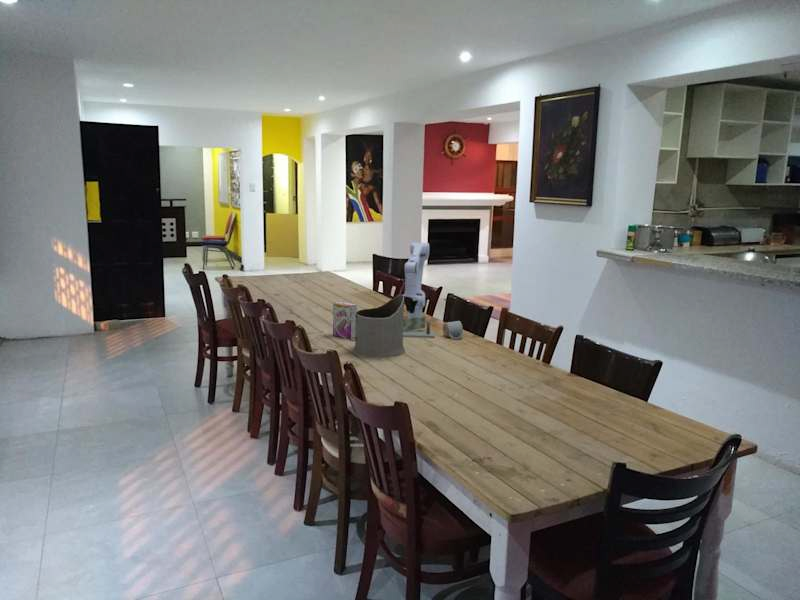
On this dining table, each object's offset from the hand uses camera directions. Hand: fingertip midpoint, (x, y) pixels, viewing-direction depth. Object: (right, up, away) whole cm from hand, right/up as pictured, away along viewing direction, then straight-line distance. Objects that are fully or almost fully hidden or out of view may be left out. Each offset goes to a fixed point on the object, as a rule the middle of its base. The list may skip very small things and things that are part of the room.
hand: (410, 312), depth 311 cm
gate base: (+2, -11, -9) cm, 14 cm away
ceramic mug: (+21, -12, -10) cm, 27 cm away
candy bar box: (-32, -12, -14) cm, 37 cm away
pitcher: (-19, -17, -39) cm, 47 cm away
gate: (+1, -9, -3) cm, 9 cm away
